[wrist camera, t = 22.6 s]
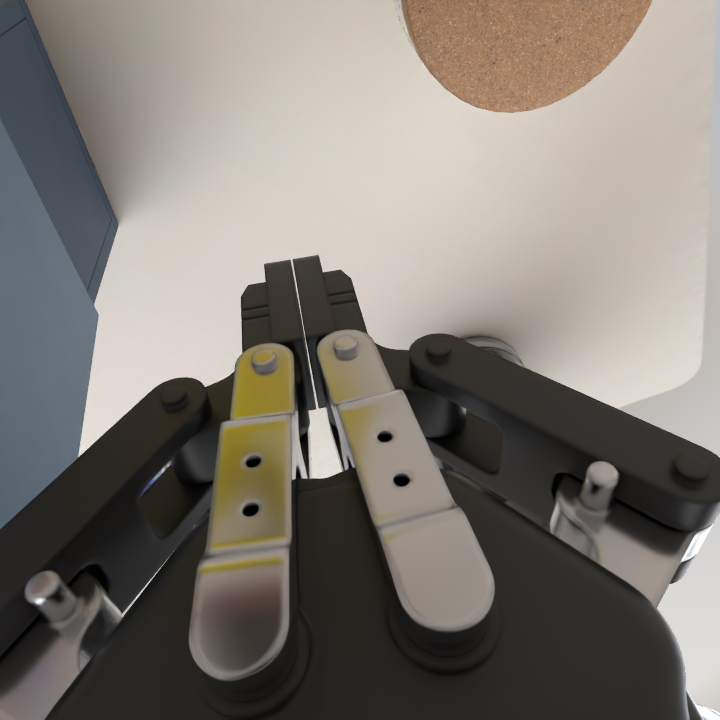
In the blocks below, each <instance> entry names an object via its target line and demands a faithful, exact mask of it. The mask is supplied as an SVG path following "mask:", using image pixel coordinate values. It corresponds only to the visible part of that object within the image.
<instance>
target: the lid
mask: <svg viewBox="0 0 720 720" xmlns="http://www.w3.org/2000/svg"><path fill="white" fill-rule="evenodd" d="M98 316H99V315H98V313H97V311H96V309H95V307H94V305H93V303H92V301H91V299H90V297H89V295H88V293H87V291H86V289H85V287H84V285H83V283H82V281H81V279H80V277H79V275H78V273H77V271H76V269H75V267H74V265H73V263H72V261H71V259H70V257H69V255H68V253H67V251H66V249H65V247H64V245H63V243H62V241H61V239H60V237H59V235H58V233H57V231H56V229H55V227H54V225H53V223H52V221H51V219H50V217H49V215H48V213H47V211H46V209H45V207H44V205H43V203H42V201H41V199H40V197H39V195H38V193H37V191H36V189H35V187H34V185H33V183H32V181H31V179H30V177H29V175H28V173H27V171H26V169H25V167H24V165H23V163H22V161H21V159H20V157H19V155H18V153H17V151H16V149H15V147H14V145H13V143H12V141H11V139H10V137H9V135H8V133H7V131H6V129H5V127H4V125H3V123H2V121H1V119H0V529H1V528H2V527H3V526H4V525H5V524H6V523H7V522H9V521H10V520H11V519H12V518H13V517H14V516H15V515H16V514H17V513H18V512H20V511H21V510H22V509H23V508H24V507H25V506H26V505H27V504H28V503H29V502H30V501H32V500H33V499H34V498H35V497H36V496H37V495H38V494H39V493H40V492H41V491H42V490H44V489H45V488H46V487H47V486H48V485H49V484H50V483H51V482H52V481H53V480H54V479H56V478H57V477H58V476H59V475H60V474H61V473H62V472H63V471H64V470H65V469H66V468H68V467H69V466H70V465H71V464H72V463H73V462H74V461H75V460H76V459H77V458H78V454H79V447H80V440H81V433H82V426H83V419H84V412H85V406H86V399H87V392H88V385H89V378H90V371H91V364H92V357H93V350H94V344H95V337H96V330H97V323H98Z"/></svg>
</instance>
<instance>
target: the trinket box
mask: <svg viewBox="0 0 720 720" xmlns="http://www.w3.org/2000/svg"><path fill="white" fill-rule="evenodd" d="M651 2H652V0H394V4H395V7H396V10H397V14H398V17H399V20H400V22H401V25H402V27H403V29H404V31H405V34H406V36H407V38H408V40H409V42H410V44H411V45H412V47H413V48H414V50H415V51H416V53H417V54H418V56H419V57H420V59H421V60H422V62H423V63H424V65H425V66H426V68H427V69H428V71H429V72H430V73H431V74H432V75H433V76H434V77H435V78H436V79H437V81H438V82H439V83H440V84H441V85H442V86H443V87H444V88H445V89H446V90H448V91H449V92H451V93H452V94H453V95H455V96H456V97H458V98H459V99H460V100H462V101H464V102H466V103H469V104H471V105H473V106H475V107H477V108H482V109H486V110H490V111H494V112H510V113H513V112H521V111H530V110H533V109H537V108H541V107H544V106H548V105H550V104H552V103H554V102H557V101H559V100H561V99H563V98H566V97H567V96H569V95H571V94H572V93H574V92H575V91H577V90H579V89H580V88H582V87H583V86H585V85H586V84H587V83H588V82H590V81H591V80H592V79H593V78H595V77H596V76H597V75H598V74H600V73H601V72H602V71H603V70H604V69H605V68H606V67H607V66H608V65H609V64H610V63H611V62H612V61H613V59H614V58H615V57H616V56H617V55H618V54H619V53H620V51H621V50H622V49H623V47H624V46H625V45H626V44H627V42H628V41H629V40H630V39H631V37H632V36H633V34H634V32H635V31H636V29H637V28H638V26H639V25H640V23H641V21H642V20H643V18H644V17H645V15H646V13H647V10H648V8H649V6H650V4H651Z"/></svg>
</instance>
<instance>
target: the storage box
mask: <svg viewBox="0 0 720 720" xmlns="http://www.w3.org/2000/svg"><path fill="white" fill-rule="evenodd" d="M0 119H1V121H2V123H3V125H4V127H5V129H6V131H7V133H8V135H9V137H10V139H11V141H12V143H13V145H14V147H15V149H16V151H17V153H18V155H19V157H20V159H21V161H22V163H23V165H24V167H25V169H26V171H27V173H28V175H29V177H30V179H31V181H32V183H33V185H34V187H35V189H36V191H37V193H38V195H39V197H40V199H41V201H42V203H43V205H44V207H45V209H46V211H47V213H48V215H49V217H50V219H51V221H52V223H53V225H54V227H55V229H56V231H57V233H58V235H59V237H60V239H61V241H62V243H63V245H64V247H65V249H66V251H67V253H68V255H69V257H70V259H71V261H72V263H73V265H74V267H75V269H76V271H77V273H78V275H79V277H80V279H81V281H82V283H83V285H84V287H85V289H86V291H87V293H88V295H89V297H90V299H91V301H92V303H93V305H94V303H95V299H96V296H97V293H98V290H99V287H100V283H101V280H102V277H103V274H104V271H105V267H106V264H107V261H108V258H109V254H110V251H111V248H112V245H113V242H114V238H115V235H116V232H117V229H118V223H117V220H116V218H115V215H114V213H113V211H112V208H111V206H110V204H109V201H108V199H107V196H106V194H105V192H104V189H103V187H102V184H101V182H100V180H99V177H98V175H97V172H96V170H95V168H94V165H93V163H92V160H91V158H90V156H89V153H88V151H87V149H86V146H85V144H84V141H83V139H82V137H81V134H80V132H79V129H78V127H77V125H76V122H75V120H74V117H73V115H72V113H71V110H70V108H69V105H68V103H67V101H66V98H65V96H64V93H63V91H62V89H61V86H60V84H59V82H58V79H57V77H56V74H55V72H54V70H53V67H52V65H51V62H50V60H49V58H48V55H47V53H46V50H45V48H44V46H43V43H42V41H41V38H40V36H39V34H38V31H37V29H36V27H35V24H34V22H33V19H32V17H31V15H30V12H29V10H28V7H27V5H26V3H25V0H0Z"/></svg>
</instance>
